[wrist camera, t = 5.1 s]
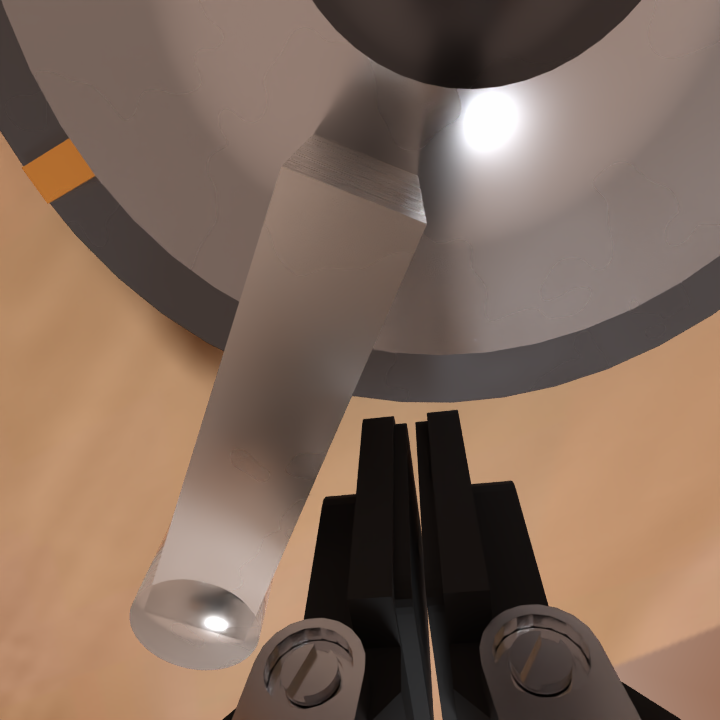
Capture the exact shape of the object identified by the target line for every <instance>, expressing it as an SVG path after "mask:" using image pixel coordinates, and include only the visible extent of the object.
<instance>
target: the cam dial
mask: <svg viewBox="0 0 720 720" xmlns="http://www.w3.org/2000/svg"><path fill="white" fill-rule="evenodd" d="M2 3H3V7H4V9H5V11H6V14H7V16H8V18H9V21H10V23H11V26H12V28H13V30H14V33H15V35H16V37H17V40H18V42H19V44H20V47H21V49H22V52H23V54H24V56H25V59H26V61H27V63H28V66H29V68H30V70H31V72H32V74H33V76H34V78H35V80H36V81H37V83H38V85H39V87H40V89H41V90H42V92H43V94H44V96H45V98H46V100H47V101H48V103H49V105H50V107H51V109H52V111H53V112H54V114H55V116H56V118H57V120H58V121H59V123H60V125H61V127H62V128H63V130H64V131H65V133H66V134H67V136H68V137H69V138H70V140H71V141H72V143H73V144H74V146H75V147H76V149H77V150H78V151H79V153H80V154H81V156H82V157H83V159H84V160H85V162H86V163H87V164H88V166H89V167H90V169H91V170H92V172H93V173H94V175H95V176H96V177H97V178H98V180H99V181H100V182H101V183H102V184H103V185H104V187H105V188H106V189H107V190H108V191H109V192H110V193H111V195H112V196H113V197H114V198H115V199H116V200H117V202H118V203H119V204H120V205H121V206H122V207H123V209H124V210H125V211H126V212H127V213H128V214H129V215H130V217H131V218H132V219H133V220H134V221H135V222H136V223H137V224H138V225H139V226H140V227H142V228H143V229H144V230H145V231H146V232H147V233H148V234H149V235H150V236H151V237H152V238H153V239H154V240H156V241H157V242H158V243H159V244H160V245H161V246H162V247H163V248H164V249H165V250H166V251H167V252H168V253H169V254H171V255H172V256H173V257H174V258H175V259H177V260H178V261H179V262H181V263H182V264H184V265H185V266H186V267H188V268H189V269H190V270H192V271H193V272H194V273H196V274H197V275H198V276H200V277H201V278H202V279H204V280H205V281H206V282H208V283H209V284H211V285H212V286H213V287H215V288H216V289H218V290H220V291H222V292H223V293H225V294H227V295H229V296H230V297H232V298H234V299H236V300H237V301H239V305H238V308H237V311H236V314H235V318H234V321H233V324H232V327H231V331H230V334H229V337H228V340H227V343H226V347H225V350H224V353H223V356H222V360H221V363H220V366H219V369H218V373H217V376H216V379H215V382H214V386H213V389H212V392H211V395H210V399H209V402H208V405H207V408H206V411H205V415H204V418H203V421H202V424H201V428H200V431H199V434H198V437H197V441H196V444H195V447H194V450H193V454H192V457H191V460H190V463H189V467H188V470H187V473H186V476H185V480H184V483H183V486H182V489H181V492H180V496H179V499H178V502H177V505H176V509H175V512H174V515H173V518H172V521H171V523H170V526H169V528H168V530H167V532H166V534H165V536H164V538H163V540H162V542H161V545H160V547H159V549H158V551H157V553H156V555H155V557H154V559H153V561H152V563H151V566H150V568H149V570H148V572H147V574H146V576H145V578H144V580H143V582H142V585H141V587H140V589H139V591H138V593H137V595H136V597H135V599H134V601H133V604H132V606H131V609H130V623H131V627H132V630H133V632H134V634H135V636H136V637H137V639H138V640H139V641H140V643H141V644H142V645H143V646H144V647H145V648H146V649H148V650H149V651H150V652H151V653H153V654H154V655H156V656H157V657H159V658H161V659H163V660H165V661H167V662H169V663H172V664H174V665H177V666H181V667H185V668H189V669H196V670H217V669H223V668H227V667H230V666H233V665H236V664H238V663H240V662H242V661H243V660H245V659H246V658H247V657H248V656H250V655H251V653H252V652H253V651H254V650H255V648H256V646H257V644H258V641H259V637H260V632H261V628H262V624H263V619H264V615H265V611H266V606H267V602H268V598H269V593H270V589H271V585H272V580H273V576H274V573H275V571H276V569H277V566H278V564H279V562H280V559H281V557H282V555H283V553H284V550H285V548H286V546H287V543H288V541H289V539H290V536H291V534H292V532H293V530H294V527H295V525H296V523H297V520H298V518H299V516H300V514H301V511H302V509H303V507H304V504H305V502H306V500H307V498H308V495H309V493H310V491H311V488H312V486H313V484H314V481H315V479H316V477H317V475H318V472H319V470H320V468H321V465H322V463H323V461H324V459H325V456H326V454H327V452H328V449H329V447H330V445H331V443H332V440H333V438H334V436H335V433H336V431H337V429H338V427H339V424H340V422H341V420H342V417H343V415H344V413H345V410H346V408H347V406H348V404H349V401H350V399H351V397H352V394H353V392H354V390H355V388H356V385H357V383H358V381H359V378H360V376H361V374H362V372H363V369H364V367H365V365H366V362H367V360H368V358H369V355H370V353H371V351H372V349H375V350H381V351H386V352H392V353H408V354H427V355H452V354H468V353H484V352H492V351H498V350H504V349H509V348H515V347H520V346H526V345H532V344H537V343H540V342H543V341H547V340H550V339H554V338H557V337H560V336H564V335H567V334H570V333H574V332H577V331H581V330H584V329H586V328H589V327H591V326H594V325H596V324H598V323H601V322H603V321H606V320H608V319H610V318H613V317H615V316H617V315H620V314H622V313H625V312H627V311H629V310H632V309H634V308H636V307H637V306H639V305H641V304H643V303H645V302H647V301H648V300H650V299H652V298H654V297H656V296H657V295H659V294H661V293H663V292H665V291H666V290H668V289H670V288H672V287H674V286H676V285H677V284H679V283H681V282H683V281H684V280H685V279H687V278H688V277H690V276H691V275H693V274H694V273H695V272H697V271H698V270H700V269H701V268H703V267H704V266H706V265H707V264H708V263H710V262H711V261H713V260H714V259H716V258H717V257H718V256H720V0H2Z"/></svg>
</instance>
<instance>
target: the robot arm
mask: <svg viewBox="0 0 720 720" xmlns="http://www.w3.org/2000/svg"><path fill="white" fill-rule="evenodd" d="M427 420H428V421H424V422H416V440H417V457H418V475H419V492H420V510H421V525H420V518H419V510H418V503H417V495H416V488H415V481H414V473H413V466H412V458H411V451H410V443H409V436H408V429H407V424H406V423H404V424H395V419H394V416H391V417H381V418H371V419H363V423H362V433H361V445H360V456H359V468H358V479H357V490H356V494H352V495H341V496H329V497H325V498H324V500H323V504H322V510H321V516H320V522H319V529H318V535H317V541H316V547H315V553H314V560H313V566H312V572H311V578H310V584H309V591H308V597H307V603H306V609H305V615H304V620H302V621H299V622H296V623H293V624H290V625H288V626H287V627H285V628H284V629H282V630H280V631H279V632H277V633H276V634H275V635H274V636H273V637H272V638H271V639H270V640H269V641H268V642H267V643H266V644H265V645H264V646H263V647H262V649H261V651H260V653H259V654H258V656H257V658H256V660H255V662H254V664H253V667H252V669H251V672H250V674H249V677H248V679H247V682H246V684H245V687H244V690H243V692H242V695H241V697H240V700H239V702H238V705H237V707H236V709H235V710H233V711H232V712H231V713H230V714H229V715H227V716H226V717H225V718H224V719H223V720H434V715H433V698H432V681H431V664H430V647H429V630H428V617H429V624H430V631H431V638H432V646H433V653H434V660H435V667H436V674H437V682H438V689H439V696H440V703H441V711H442V718H443V720H681V719H679V718H678V717H676V716H675V715H673V714H671V713H670V712H668V711H667V710H665V709H664V708H662V707H661V706H659V705H657V704H656V703H654V702H653V701H651V700H649V699H648V698H646V697H645V696H643V695H642V694H640V693H638V692H637V691H635V690H634V689H632V688H631V687H629V686H627V685H626V684H624V683H623V682H621V681H620V679H619V677H618V675H617V674H616V672H615V670H614V668H613V666H612V664H611V662H610V660H609V658H608V657H607V655H606V653H605V651H604V649H603V647H602V645H601V644H600V642H599V640H598V639H597V638H596V636H595V635H594V634H593V632H592V631H591V630H590V628H589V627H588V626H587V625H585V624H584V623H583V622H581V621H580V620H579V619H578V618H576V617H575V616H574V615H571V614H569V613H567V612H565V611H562V610H560V609H558V608H555V607H549V606H548V602H547V599H546V595H545V592H544V588H543V585H542V581H541V577H540V574H539V570H538V567H537V563H536V560H535V556H534V552H533V549H532V545H531V542H530V538H529V535H528V531H527V527H526V524H525V520H524V517H523V513H522V510H521V506H520V502H519V499H518V495H517V492H516V488H515V485H514V483H513V481H504V482H492V483H480V484H471V481H470V475H469V470H468V464H467V458H466V453H465V447H464V442H463V436H462V430H461V425H460V419H459V414H458V410H452V411H441V412H431V413H427ZM421 527H422V533H421ZM427 609H428V613H427Z"/></svg>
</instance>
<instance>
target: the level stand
mask: <svg viewBox="0 0 720 720" xmlns="http://www.w3.org/2000/svg"><path fill="white" fill-rule="evenodd" d="M0 131H1V133H2V134H3V136H4V137H5V139H6V140H7V142H8V143H9V145H10V146H11V148H12V150H13V151H14V153H15V154H16V156H17V157H18V159H19V160H20V162H21V163H22V165H23V166H24V167H22V169H23V170H24V172H25V173H26V174H27V176H28V177H29V179H30V180H31V181H32V183H33V184H34V186H35V187H36V188H37V190H38V191H39V192H40V194H41V195H42V197H43V198H44V199H45V201H46V202H47V203H50V204H51V205H52V206H53V208H54V209H55V210H56V211H57V213H58V214H59V215H60V216H61V218H62V219H63V220H64V221H65V223H66V224H67V225H68V226H69V227H70V229H71V230H72V231H73V232H74V234H75V235H76V236H77V237H78V238H79V239H80V240H81V241H82V242H83V243H84V244H85V245H86V246H87V247H88V248H89V249H90V250H91V251H92V252H93V253H94V254H95V255H96V256H97V257H98V258H99V259H100V260H101V261H102V262H103V263H104V264H105V265H106V266H107V267H108V268H109V269H110V270H111V271H112V272H113V273H114V274H115V275H116V276H117V277H118V278H119V279H120V280H121V281H123V282H124V283H125V284H126V285H127V286H129V287H130V288H131V289H132V290H134V291H135V292H136V293H137V294H139V295H140V296H141V297H142V298H143V299H145V300H146V301H147V302H148V303H150V304H151V305H152V306H153V307H155V308H156V309H157V310H158V311H160V312H161V313H162V314H164V315H165V316H167V317H168V318H170V319H171V320H173V321H174V322H176V323H177V324H179V325H181V326H182V327H184V328H185V329H187V330H188V331H190V332H191V333H193V334H195V335H196V336H198V337H199V338H201V339H202V340H204V341H205V342H207V343H209V344H211V345H213V346H215V347H217V348H219V349H221V350H223V351H224V350H225V347H226V343H227V340H228V337H229V334H230V331H231V327H232V324H233V321H234V318H235V314H236V311H237V308H238V305H239V301H237V300H236V299H234V298H232V297H230V296H229V295H227V294H225V293H223V292H222V291H220V290H218V289H216V288H215V287H213V286H212V285H211V284H209V283H208V282H206V281H205V280H204V279H202V278H201V277H200V276H198V275H197V274H196V273H194V272H193V271H192V270H190V269H189V268H188V267H186V266H185V265H184V264H182V263H181V262H179V261H178V260H177V259H175V258H174V257H173V256H172V255H171V254H169V253H168V252H167V251H166V250H165V249H164V248H163V247H162V246H161V245H160V244H159V243H158V242H157V241H156V240H154V239H153V238H152V237H151V236H150V235H149V234H148V233H147V232H146V231H145V230H144V229H143V228H142V227H140V226H139V225H138V224H137V223H136V222H135V221H134V220H133V219H132V218H131V217H130V215H129V214H128V213H127V212H126V211H125V210H124V209H123V207H122V206H121V205H120V204H119V203H118V202H117V200H116V199H115V198H114V197H113V196H112V195H111V193H110V192H109V191H108V190H107V189H106V188H105V187H104V185H103V184H102V183H101V182H100V181H99V180H98V178H97V177H96V176H95V175H94V173H93V172H92V170H91V169H90V167H89V166H88V164H87V163H86V162H85V160H84V159H83V157H82V156H81V154H80V153H79V151H78V150H77V149H76V147H75V146H74V144H73V143H72V141H71V140H70V138H69V137H68V136H67V134H66V133H65V131H64V130H63V128H62V127H61V125H60V123H59V121H58V120H57V118H56V116H55V114H54V112H53V111H52V109H51V107H50V105H49V103H48V101H47V100H46V98H45V96H44V94H43V92H42V90H41V89H40V87H39V85H38V83H37V81H36V80H35V78H34V76H33V74H32V72H31V70H30V68H29V66H28V63H27V61H26V59H25V56H24V54H23V52H22V49H21V47H20V44H19V42H18V40H17V37H16V35H15V33H14V30H13V28H12V26H11V23H10V21H9V18H8V16H7V14H6V11H5V9H4V7H3V3H2V0H0ZM718 310H720V256H718V257H717V258H716V259H714V260H713V261H711V262H710V263H708V264H707V265H706V266H704V267H703V268H701V269H700V270H698V271H697V272H695V273H694V274H693V275H691V276H690V277H688V278H687V279H685V280H684V281H683V282H681V283H679V284H677V285H676V286H674V287H672V288H670V289H668V290H666V291H665V292H663V293H661V294H659V295H657V296H656V297H654V298H652V299H650V300H648V301H647V302H645V303H643V304H641V305H639V306H637V307H636V308H634V309H632V310H629V311H627V312H625V313H622V314H620V315H617V316H615V317H613V318H610V319H608V320H606V321H603V322H601V323H598V324H596V325H594V326H591V327H589V328H586V329H584V330H581V331H577V332H574V333H570V334H567V335H564V336H560V337H557V338H554V339H550V340H547V341H543V342H540V343H537V344H532V345H526V346H520V347H515V348H509V349H504V350H498V351H492V352H484V353H468V354H452V355H427V354H408V353H392V352H386V351H381V350H375V349H372V351H371V353H370V355H369V358H368V360H367V362H366V365H365V367H364V369H363V372H362V374H361V376H360V378H359V381H358V383H357V385H356V388H355V390H354V392H353V394H352V396H358V397H366V398H374V399H382V400H390V401H398V402H462V401H472V400H482V399H492V398H501V397H507V396H512V395H517V394H521V393H526V392H531V391H535V390H540V389H545V388H549V387H554V386H558V385H561V384H564V383H567V382H570V381H573V380H576V379H579V378H582V377H585V376H588V375H591V374H594V373H597V372H600V371H603V370H606V369H609V368H611V367H613V366H615V365H618V364H620V363H622V362H624V361H626V360H629V359H631V358H633V357H635V356H638V355H640V354H642V353H644V352H646V351H649V350H651V349H653V348H655V347H657V346H660V345H661V344H663V343H665V342H667V341H668V340H670V339H672V338H673V337H675V336H677V335H679V334H680V333H682V332H684V331H685V330H687V329H689V328H691V327H692V326H694V325H696V324H698V323H699V322H701V321H703V320H704V319H706V318H708V317H710V316H711V315H713V314H714V313H716V312H717V311H718Z"/></svg>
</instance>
